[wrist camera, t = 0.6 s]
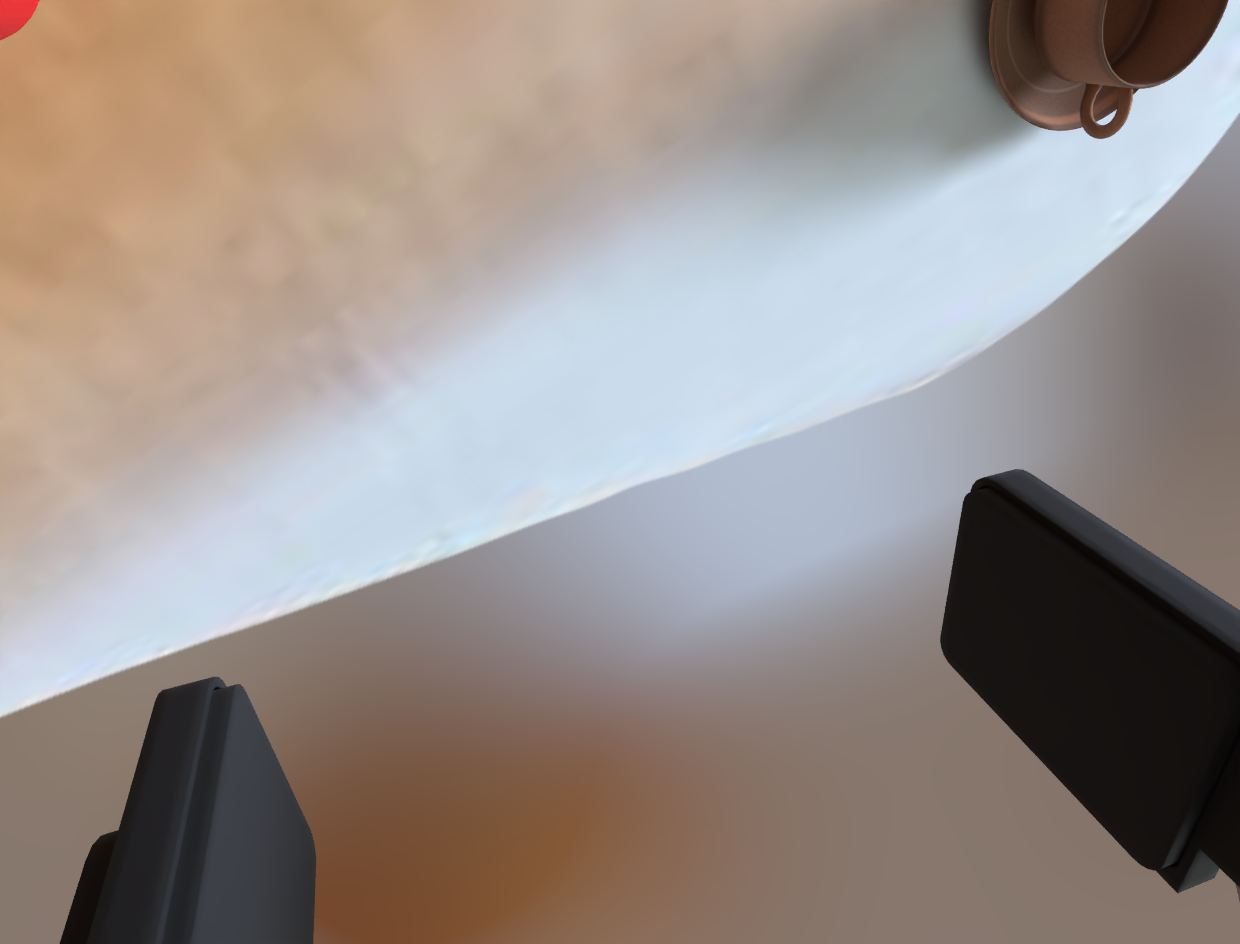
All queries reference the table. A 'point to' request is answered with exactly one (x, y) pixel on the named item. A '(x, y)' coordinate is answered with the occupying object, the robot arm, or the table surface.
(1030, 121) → the cup and saucer
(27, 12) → the beverage can
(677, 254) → the table surface
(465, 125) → the table surface
